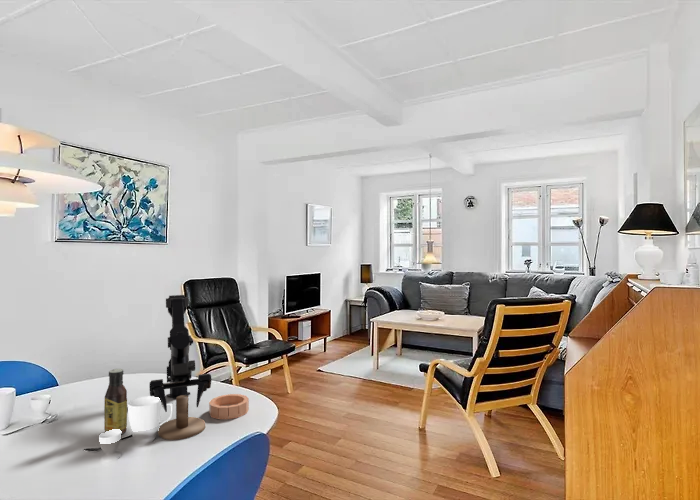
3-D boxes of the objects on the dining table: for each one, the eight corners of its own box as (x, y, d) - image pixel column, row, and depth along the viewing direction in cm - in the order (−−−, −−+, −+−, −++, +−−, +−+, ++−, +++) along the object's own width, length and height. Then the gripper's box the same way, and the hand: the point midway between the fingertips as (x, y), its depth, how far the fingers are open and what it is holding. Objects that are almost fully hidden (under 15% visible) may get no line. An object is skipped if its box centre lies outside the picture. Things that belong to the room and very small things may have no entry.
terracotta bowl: (201, 414, 148) (201, 403, 148) (229, 402, 159) (229, 391, 159) (228, 422, 142) (228, 410, 142) (255, 409, 153) (255, 398, 153)
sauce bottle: (101, 433, 134) (100, 370, 134) (122, 427, 138) (122, 366, 138) (108, 439, 129) (107, 374, 129) (130, 433, 134) (129, 369, 134)
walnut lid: (148, 433, 133) (148, 400, 133) (184, 417, 146) (184, 386, 145) (179, 444, 127) (179, 409, 126) (214, 426, 139) (214, 394, 139)
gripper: (149, 355, 136) (148, 401, 126) (210, 349, 144) (214, 392, 133) (150, 373, 143) (149, 418, 133) (208, 366, 151) (212, 408, 141)
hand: (182, 409), depth 135 cm, fingers open, 9 cm apart
